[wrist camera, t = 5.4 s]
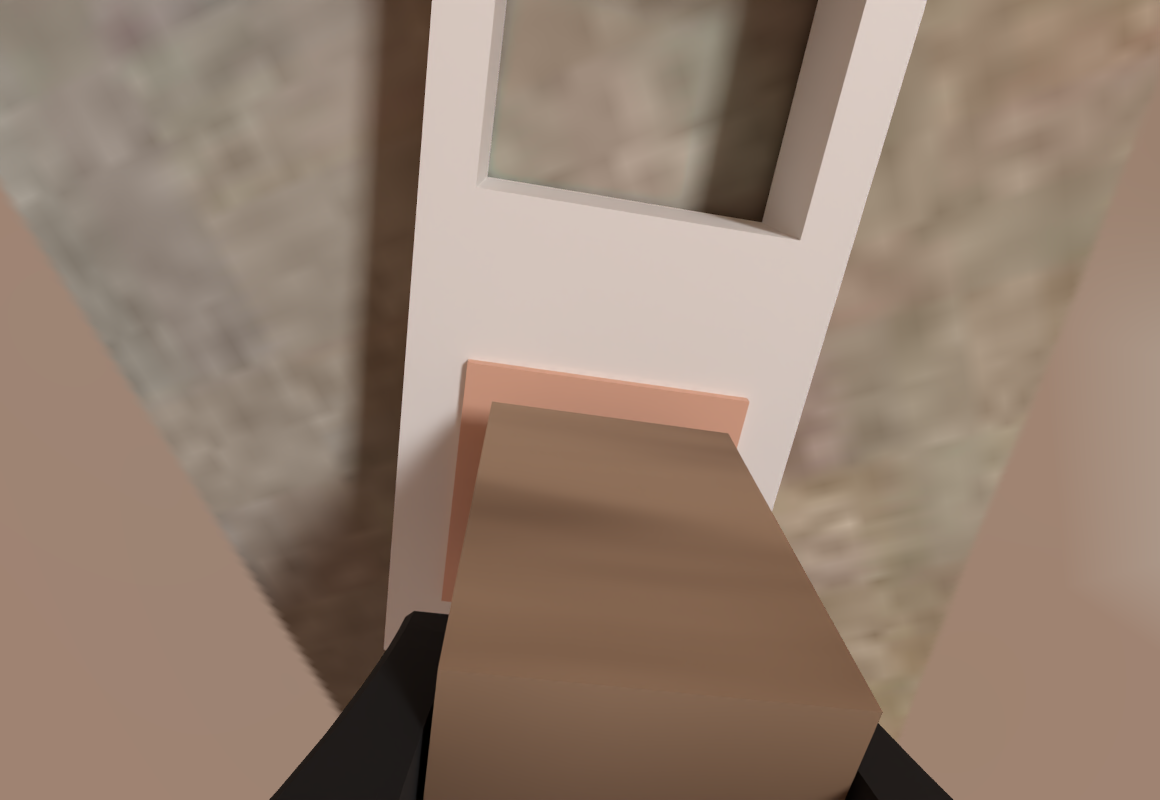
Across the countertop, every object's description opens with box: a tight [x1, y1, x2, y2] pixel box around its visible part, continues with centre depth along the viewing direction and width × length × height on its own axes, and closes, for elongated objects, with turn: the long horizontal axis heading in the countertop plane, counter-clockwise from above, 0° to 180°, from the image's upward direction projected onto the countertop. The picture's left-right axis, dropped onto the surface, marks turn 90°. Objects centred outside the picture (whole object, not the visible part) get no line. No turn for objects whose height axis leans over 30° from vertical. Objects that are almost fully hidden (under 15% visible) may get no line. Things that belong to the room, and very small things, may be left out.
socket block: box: [384, 0, 927, 650], centre depth 14 cm, size 18×8×3 cm, turn 171°
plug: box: [423, 402, 883, 800], centre depth 11 cm, size 4×4×6 cm
